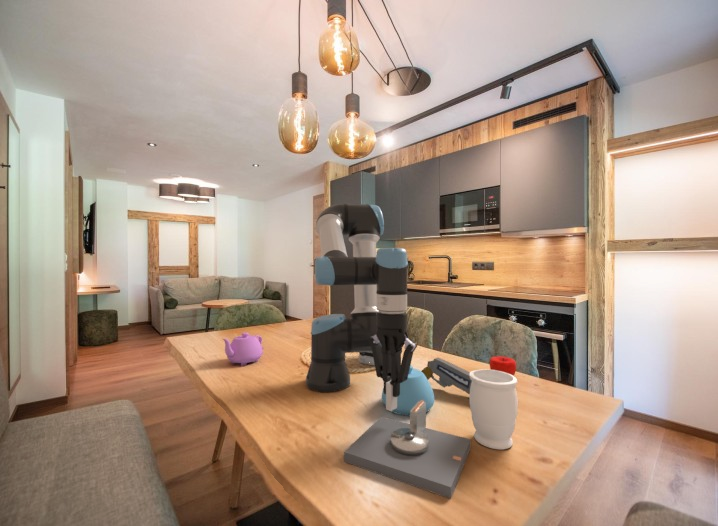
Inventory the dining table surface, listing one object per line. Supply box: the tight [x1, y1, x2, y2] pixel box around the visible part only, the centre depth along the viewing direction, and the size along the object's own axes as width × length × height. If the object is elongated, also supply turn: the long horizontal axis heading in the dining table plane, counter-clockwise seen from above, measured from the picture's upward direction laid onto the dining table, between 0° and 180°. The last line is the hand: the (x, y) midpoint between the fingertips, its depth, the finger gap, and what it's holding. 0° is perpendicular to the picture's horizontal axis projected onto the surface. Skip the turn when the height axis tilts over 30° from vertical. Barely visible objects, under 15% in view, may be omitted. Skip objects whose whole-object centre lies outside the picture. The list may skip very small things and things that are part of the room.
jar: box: [468, 368, 519, 451], centre depth 76 cm, size 11×10×15 cm
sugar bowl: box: [381, 365, 435, 416], centre depth 95 cm, size 15×15×12 cm
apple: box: [489, 356, 517, 376], centre depth 115 cm, size 9×9×8 cm
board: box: [343, 416, 471, 499], centre depth 70 cm, size 22×18×2 cm
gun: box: [420, 357, 472, 395], centre depth 104 cm, size 3×25×15 cm, turn 47°
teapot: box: [222, 332, 264, 367], centre depth 136 cm, size 20×14×12 cm
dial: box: [391, 400, 428, 455], centre depth 72 cm, size 13×8×6 cm, turn 151°
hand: (391, 408), depth 79 cm, fingers closed
